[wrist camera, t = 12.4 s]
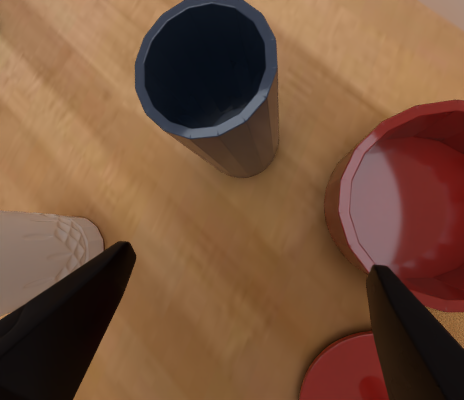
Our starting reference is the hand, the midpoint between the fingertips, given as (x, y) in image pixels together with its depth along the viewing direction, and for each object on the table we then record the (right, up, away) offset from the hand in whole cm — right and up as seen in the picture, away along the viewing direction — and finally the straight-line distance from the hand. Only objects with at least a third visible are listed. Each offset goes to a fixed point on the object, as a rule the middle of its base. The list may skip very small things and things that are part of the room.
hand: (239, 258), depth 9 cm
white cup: (-16, -3, +16) cm, 23 cm away
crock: (+1, +7, +14) cm, 15 cm away
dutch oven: (+14, +2, +11) cm, 17 cm away
